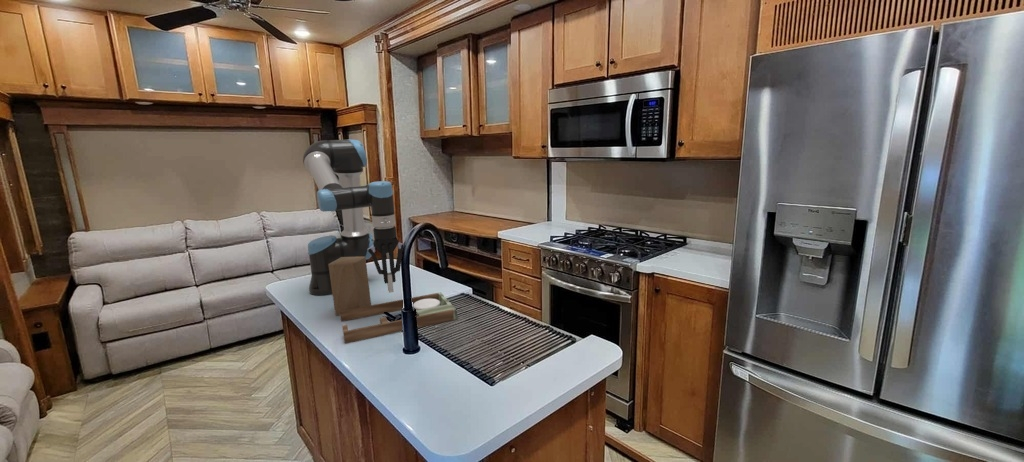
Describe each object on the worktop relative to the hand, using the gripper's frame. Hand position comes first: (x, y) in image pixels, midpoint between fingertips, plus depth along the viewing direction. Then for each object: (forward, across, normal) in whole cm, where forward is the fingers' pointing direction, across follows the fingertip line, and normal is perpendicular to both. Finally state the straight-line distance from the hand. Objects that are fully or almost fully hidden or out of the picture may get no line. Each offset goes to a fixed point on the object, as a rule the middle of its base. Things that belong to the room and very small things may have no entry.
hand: (390, 291), depth 152 cm
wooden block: (+11, -12, +16) cm, 23 cm away
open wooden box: (+10, +1, -4) cm, 11 cm away
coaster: (+11, +12, 0) cm, 16 cm away
